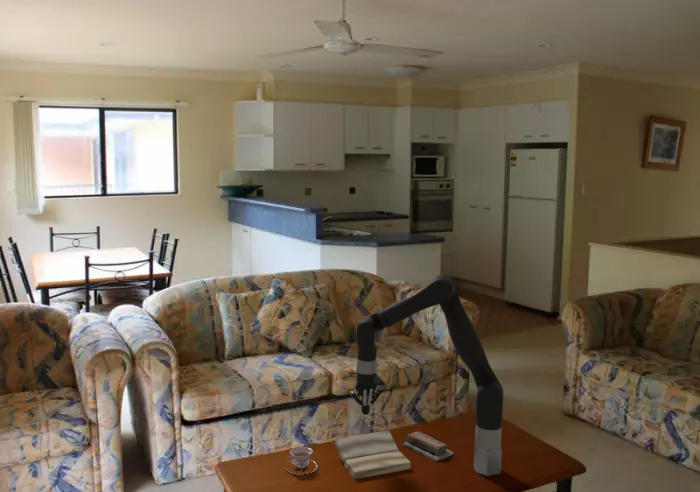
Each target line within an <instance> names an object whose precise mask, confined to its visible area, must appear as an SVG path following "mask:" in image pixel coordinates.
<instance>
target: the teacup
mask: <svg viewBox="0 0 700 492" xmlns="http://www.w3.org/2000/svg"><path fill="white" fill-rule="evenodd" d="M313 453H314V451H313V449H312V448H310V447H308V446H299V447H298V446H297V447H295V448H292V449H290V451H289V454H290V455H287V457H288V462H291V461H294V462H291V463H292V464H294V465H295V468H296V469H298V468H300V469H299V470H304V469H303V468H305V467H306V468H307V467H308V464H309V460H311V461H313V462H314V463H315V464H316V465H315V466H316V468H315V469H314V470H313V471H312V472H313V473H315V472H316V471H317V470H318V464H317V463H316V462H315V461H314V460H312V459H310V458H311V457H312V454H313ZM291 458H292V459H291ZM306 468H305V469H306ZM285 469H286V468H285V467H284V470H285ZM286 470H287V469H286ZM286 470H285V471H286ZM315 470H316V471H315ZM287 471H288V470H287ZM287 471H286V472H287ZM312 472H310V473H311V474H313V473H312ZM287 473H289V471H288V472H287ZM291 473H292V472H290V473H289V474H291ZM294 474H296V473H292V474H291V475H294ZM306 474H307V475H310V474H309V473H306ZM296 476H305V475H304V474H296Z"/></svg>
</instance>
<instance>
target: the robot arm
mask: <svg viewBox="0 0 700 492" xmlns="http://www.w3.org/2000/svg"><path fill="white" fill-rule="evenodd" d="M437 305H438V306H440V308H441V310H442V312H443V314H444V317H445V322H446V325H447V329H448V333H449V336H450V339H451V342H452V344H453V346H454V349H455V351H456V352H457V355H458V356H459V359H461V361H462V362H463V364H464V365H466V367H467V368H468V369H469V372H471V375H472V378H473V380H474V383H475V386H476V389H477V393H476V403H475V433H474V455H473V471H475V472H476V473H478V474H480V475H483V476H485V477H491V476H494V475H495V476H496V475H500V474H502V473H501V471H502V470H501V469H502V453H503V450H502V448H501V447H502V444H501V443H502V428H503V427H502V425H503V409H504V407H503V405H504V389H503V386H502V384H501V383H500V381H499V379H498V377H497V375H496V374H495V372H494V370H493V369H492V367H491V365H490V363H489V360H488V357H487V355H486V352H485V350H484V347H483V345H482V343H481V339H480V338H479V336H478V333H477V330H476V329H475V326H474V325H473V324H472V321H471V320H470V317H469V315H468V314H467V312H466V310H465V309H464V306H463V304H462V301H461V298H460V296H459V293H458V290H457V287H456V284H455V282H454V280H453V279H452V278H451V277H450V276H448V275H446V274H437V275H436V276H434V277H433V278H432V279H431V281H430V282H429V284H427V286H425V287H424V288H422V289H421V290H419V292H416V293H415V294H413V295H411V296H409V297H406V298H403V299H401V300H398V301H396V302H394V303H392V304H390V305H388V306H386V307H385V308H383V309H381V310H379V311H377V312H374V313H372V314H369V315H367V316H366V317H363V318H362V320H360V321H359V323H358V324H357V326H356V331H355V333H356V334H355V335H356V343H357V361H356V368H355V370H356V381H355V382H356V385H355V386H354V389H353V390H351V391H349V394H350V396H351V397H352V398H353V399H354V400H355V402H356V403H357V404H358V405H359V406H360V409H361V411H360V412H361V413H362V415H364V416H366V415H367V416H368V415H369V413H370V409H371V407H370V406H371V404H375V403H376V401H377V400H378V398H379V397H380V395H381V394H382V393H383V390H382V389H381V388H380V387H378V385H377V375H378V374H377V373H378V372H377V369H378V368H377V366H378V365H377V364H378V363H377V345H376V344H375V341H376V340H375V338H376V337H375V336H376V333H378V332H379V331H381V330H384V329H385V328H390V327H392V326H395V325H397V324H399V323H400V322H402V321H404V320H407V319H408V318H409V317H411V316H414V315H415V314H417V313H419V312H422V311H424V310H426V309H428V308H432V307H434V306H437ZM358 395H359V397H358Z"/></svg>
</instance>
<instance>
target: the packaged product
mask: <svg viewBox="0 0 700 492" xmlns="http://www.w3.org/2000/svg"><path fill="white" fill-rule="evenodd" d="M406 435H407V436H406V441H404V442H403V446H404V447H406V448H408V449H410V450H412V451H414V452H415V453H418V454H419V455H421V456H422V457H425V458H428V459H430V460H432V461H434V462H438V461H441V460H444V459H446V458H448V457H452V455H454V451H451V450H449V449H448V446H449V445H448V444H446V443H443V442H441V441H440V440H438V439H435V438H433V437H432V436H430V435H427V434H426V433H423V432H421V431H414V432H412V433H409V434H406Z"/></svg>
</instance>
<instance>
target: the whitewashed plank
mask: <svg viewBox="0 0 700 492" xmlns="http://www.w3.org/2000/svg"><path fill="white" fill-rule="evenodd" d="M334 444H335V446H336V448H337V451H338V454H339V456H340V459H341V461H342V463H343V464H345V460H346V459H352V458H358V457H364V456H370V455H376V454H382V453H387V452H393V451H399V449H398V446H397V444H396V442H395V439H394V438H393V436H392V434H391V431H390V430H389V429H388V430H382V431H377V432H374V431H373V432H368V433H362V434H355V435H350V436H345V437H344V436H343V437H338V438H335V442H334Z"/></svg>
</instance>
